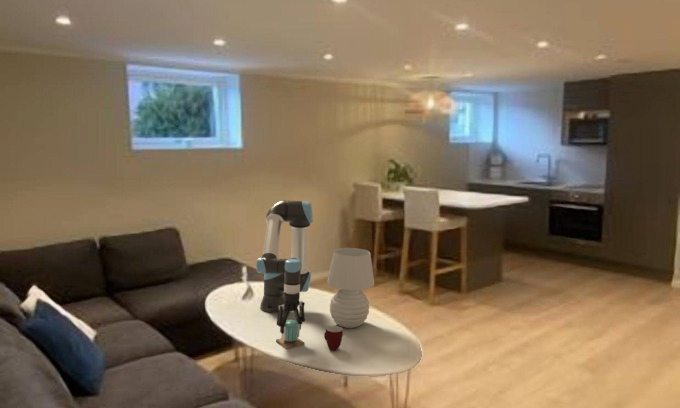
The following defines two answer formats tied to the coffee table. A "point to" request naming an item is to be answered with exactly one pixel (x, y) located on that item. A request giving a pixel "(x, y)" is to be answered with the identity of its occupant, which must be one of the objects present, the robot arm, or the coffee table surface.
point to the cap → (291, 330)
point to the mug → (333, 337)
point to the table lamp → (350, 286)
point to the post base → (290, 343)
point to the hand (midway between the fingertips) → (290, 337)
